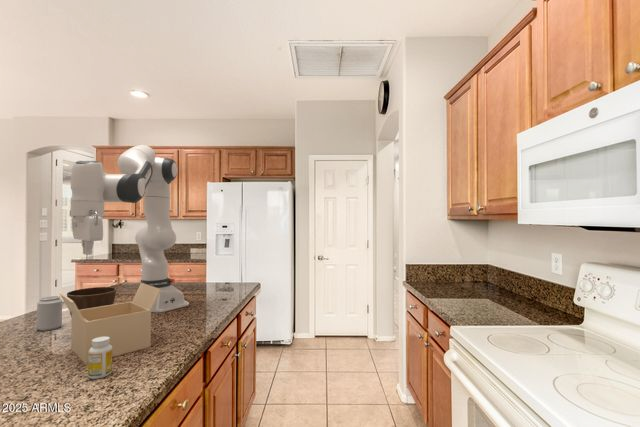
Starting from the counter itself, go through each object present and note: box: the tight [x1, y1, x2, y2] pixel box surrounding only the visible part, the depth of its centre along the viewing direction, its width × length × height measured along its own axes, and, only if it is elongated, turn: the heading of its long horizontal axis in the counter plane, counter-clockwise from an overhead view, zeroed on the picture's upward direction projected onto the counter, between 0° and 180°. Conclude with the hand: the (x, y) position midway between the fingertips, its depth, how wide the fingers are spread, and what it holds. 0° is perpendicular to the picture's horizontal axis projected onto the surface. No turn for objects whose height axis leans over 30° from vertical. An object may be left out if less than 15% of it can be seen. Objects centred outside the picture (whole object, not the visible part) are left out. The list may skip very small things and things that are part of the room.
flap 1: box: [59, 292, 85, 322], centre depth 101 cm, size 7×17×1 cm
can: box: [36, 295, 63, 332], centre depth 129 cm, size 8×8×12 cm
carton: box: [70, 300, 152, 365], centre depth 109 cm, size 18×18×12 cm
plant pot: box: [66, 286, 117, 319], centre depth 121 cm, size 15×15×16 cm
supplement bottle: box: [87, 336, 113, 380], centre depth 89 cm, size 5×5×10 cm
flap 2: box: [132, 282, 161, 310], centre depth 117 cm, size 7×17×1 cm
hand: (87, 254), depth 105 cm, fingers closed
